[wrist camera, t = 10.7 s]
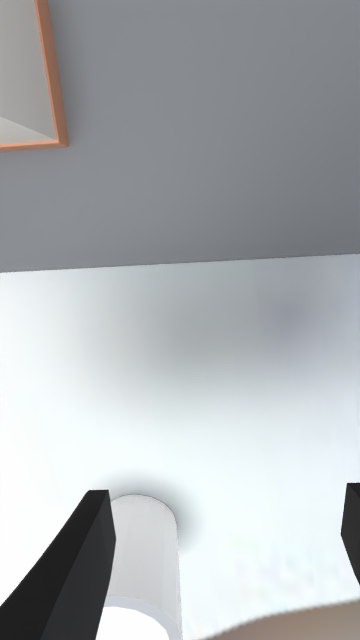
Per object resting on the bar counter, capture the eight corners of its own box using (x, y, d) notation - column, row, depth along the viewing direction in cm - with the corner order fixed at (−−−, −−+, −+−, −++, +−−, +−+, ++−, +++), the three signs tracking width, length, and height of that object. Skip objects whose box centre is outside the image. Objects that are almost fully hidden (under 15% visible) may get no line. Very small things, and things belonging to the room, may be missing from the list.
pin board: (423, -198, 13) (452, -248, 11) (369, 247, 18) (384, 252, 16) (-148, -126, 14) (-187, -163, 12) (-40, 269, 19) (-59, 275, 18)
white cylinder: (107, 474, 24) (73, 582, 17) (200, 505, 24) (202, 621, 18) (79, 541, 26) (40, 660, 19) (165, 568, 26) (156, 692, 20)
